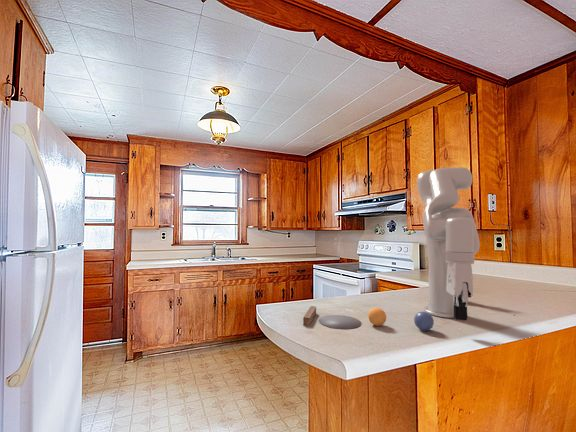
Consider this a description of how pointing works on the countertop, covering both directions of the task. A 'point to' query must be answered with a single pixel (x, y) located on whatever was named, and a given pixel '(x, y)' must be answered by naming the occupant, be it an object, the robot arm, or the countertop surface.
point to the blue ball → (423, 320)
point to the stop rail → (309, 316)
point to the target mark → (339, 322)
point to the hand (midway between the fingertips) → (460, 319)
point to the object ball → (377, 316)
